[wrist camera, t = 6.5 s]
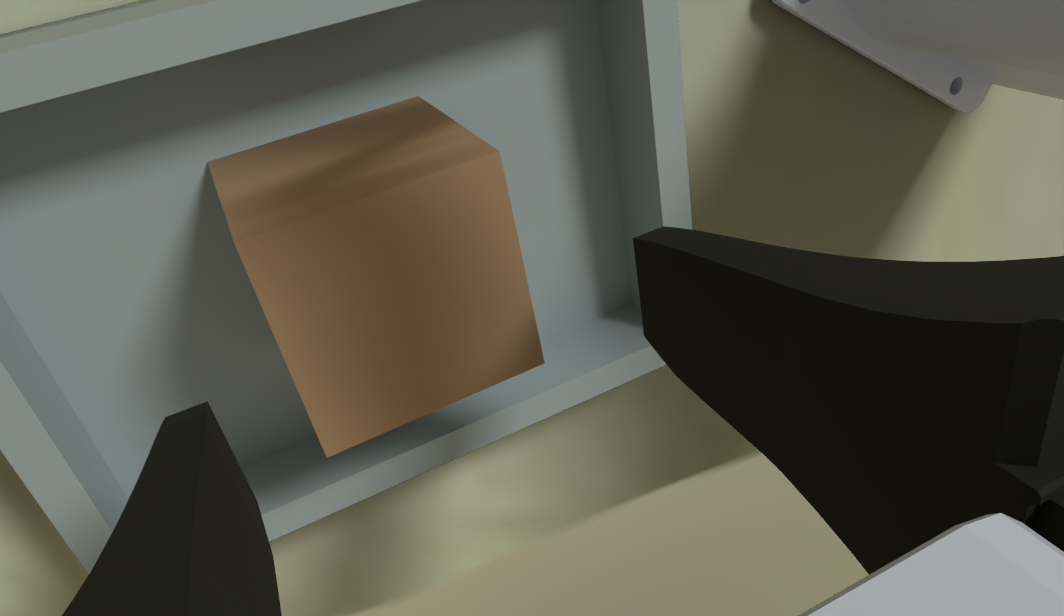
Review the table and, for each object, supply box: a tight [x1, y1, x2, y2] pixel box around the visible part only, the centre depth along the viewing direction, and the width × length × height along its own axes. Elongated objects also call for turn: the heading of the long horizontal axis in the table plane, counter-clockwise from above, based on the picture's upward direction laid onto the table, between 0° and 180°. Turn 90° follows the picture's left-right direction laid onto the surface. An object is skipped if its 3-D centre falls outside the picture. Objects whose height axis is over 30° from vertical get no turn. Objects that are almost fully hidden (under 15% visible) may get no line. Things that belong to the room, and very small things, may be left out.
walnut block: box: [207, 96, 545, 458], centre depth 16 cm, size 4×4×4 cm
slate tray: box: [0, 0, 692, 575], centre depth 17 cm, size 15×11×2 cm
